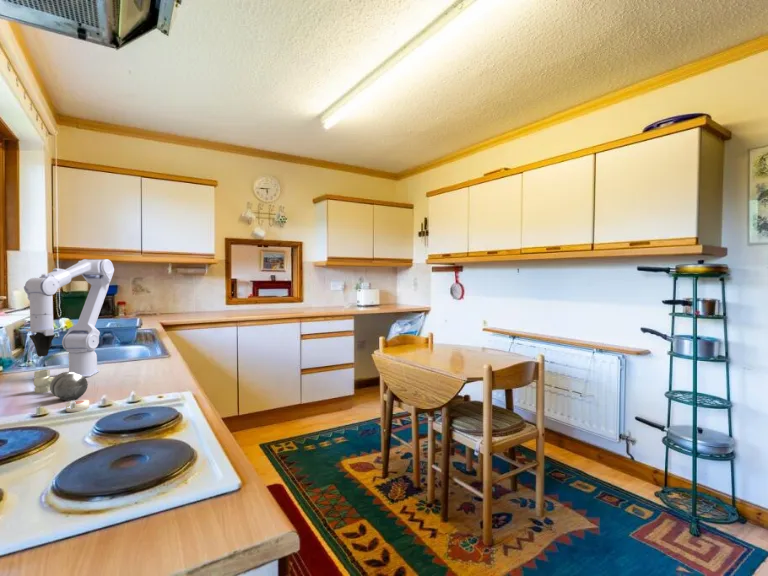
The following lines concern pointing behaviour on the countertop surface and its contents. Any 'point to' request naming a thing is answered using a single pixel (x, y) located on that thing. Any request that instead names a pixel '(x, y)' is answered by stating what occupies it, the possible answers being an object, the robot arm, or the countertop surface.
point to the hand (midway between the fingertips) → (42, 356)
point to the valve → (42, 381)
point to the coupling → (68, 386)
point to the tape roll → (79, 402)
